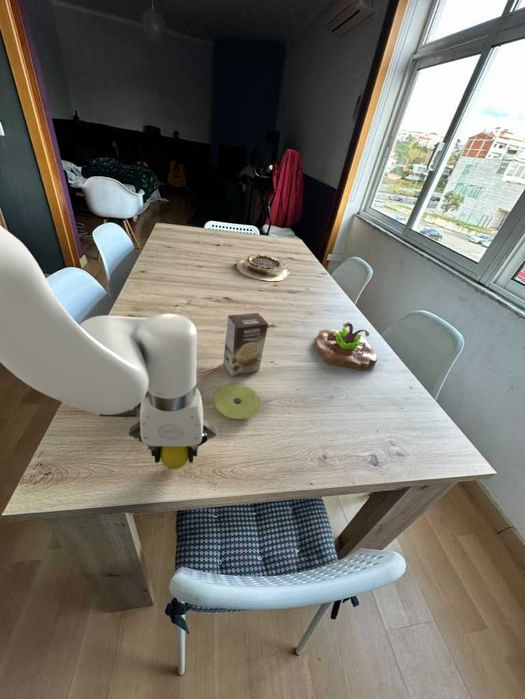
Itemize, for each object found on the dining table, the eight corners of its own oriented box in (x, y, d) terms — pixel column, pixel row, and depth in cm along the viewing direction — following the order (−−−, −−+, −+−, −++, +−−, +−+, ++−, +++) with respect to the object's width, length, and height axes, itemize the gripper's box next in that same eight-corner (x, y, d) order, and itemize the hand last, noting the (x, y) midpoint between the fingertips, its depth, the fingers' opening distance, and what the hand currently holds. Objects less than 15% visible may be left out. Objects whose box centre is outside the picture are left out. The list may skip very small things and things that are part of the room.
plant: (308, 332, 106) (316, 305, 99) (359, 336, 109) (369, 309, 102) (322, 368, 90) (333, 338, 84) (381, 371, 93) (395, 343, 87)
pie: (277, 286, 134) (279, 276, 131) (226, 269, 142) (226, 259, 139) (297, 269, 156) (299, 260, 153) (252, 255, 163) (253, 246, 160)
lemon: (164, 481, 55) (161, 456, 51) (159, 456, 59) (156, 431, 54) (193, 471, 58) (193, 447, 53) (186, 448, 61) (186, 424, 57)
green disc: (235, 383, 79) (236, 378, 78) (267, 406, 74) (269, 401, 73) (204, 404, 72) (204, 399, 70) (237, 432, 67) (238, 426, 66)
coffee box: (230, 376, 81) (235, 328, 72) (222, 362, 85) (226, 315, 76) (260, 370, 85) (268, 323, 76) (251, 357, 89) (258, 311, 80)
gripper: (105, 406, 42) (122, 475, 52) (226, 408, 45) (219, 473, 55) (120, 371, 48) (133, 439, 58) (226, 375, 50) (220, 440, 61)
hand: (175, 455), depth 57 cm, fingers closed on lemon, 5 cm apart
